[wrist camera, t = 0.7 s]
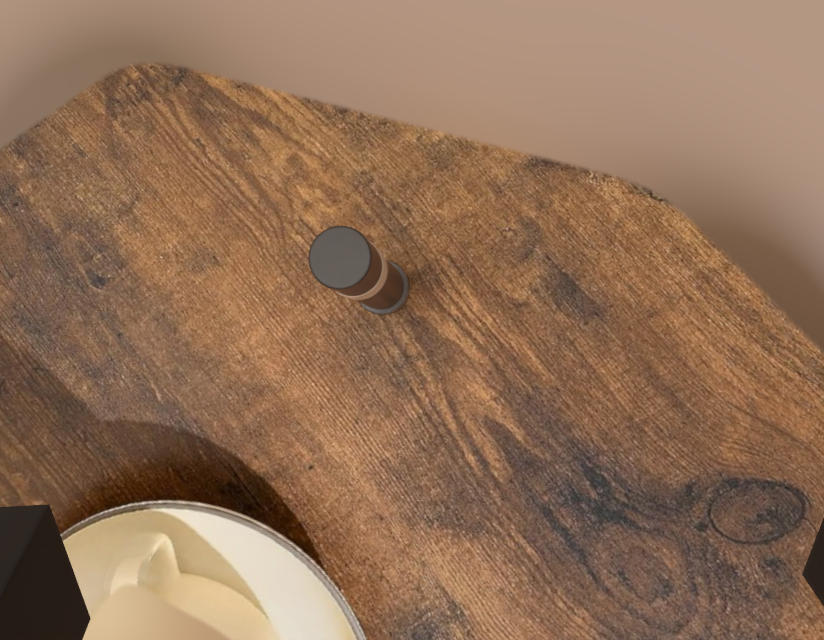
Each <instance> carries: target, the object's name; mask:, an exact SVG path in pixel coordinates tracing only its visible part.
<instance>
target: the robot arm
mask: <svg viewBox="0 0 824 640" xmlns="http://www.w3.org/2000/svg"><path fill="white" fill-rule="evenodd" d="M802 575H803V576H804V578H805V579H806V581H807V582H808V584H809V585H810V587H811V588H812V590H813V591H814V593H815V594H816V596H817V597H818V599H819V600H820V602H821V603H822V604H823V606H824V519H823V521H822V524H821V527H820V529H819V532H818V534H817V537H816V540H815V542H814V545H813V547H812V550H811V553H810V555H809V558H808V560H807V563H806V566H805V568H804V571H803V574H802ZM89 621H90V616H89V613H88V610H87V608H86V605H85V602H84V599H83V597H82V594H81V591H80V588H79V585H78V583H77V580H76V577H75V574H74V572H73V569H72V566H71V563H70V561H69V558H68V555H67V552H66V550H65V547H64V544H63V541H62V538H61V536H60V533H59V530H58V527H57V525H56V522H55V519H54V516H53V514H52V511H51V508H50V505H33V506H15V507H0V640H82V639H83V636H84V634H85V631H86V629H87V626H88V623H89Z"/></svg>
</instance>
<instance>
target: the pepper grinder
mask: <svg viewBox="0 0 824 640" xmlns="http://www.w3.org/2000/svg"><path fill="white" fill-rule="evenodd" d="M309 266H310V269H311V272H312V274H313V275H314V277H315V278H316V279H317V280H318V282H320V283H321V284H322V285H324V286H326V287H328V288H330V289H332V290H334V291H335V292H336V293H338V294H340V295H342V296H344V297H346V298H349V299H353V300H356V301H358V302H359V303H360V305H361V306H362V307H363V308H365V309H366V310H367V311H369V312H372V313H374V314H378V315H387V314H391V313H393V312H395V311H397V310H398V309H400V308H401V307H402V306H403V305H404V303H405V302H406V300H407V298H408V295H409V289H410V286H409V280H408V277H407V275H406V273H405V272H404V271H403V269H402V268H401V267H400V266H398V265H397V264H396V263H394V262H392V261H388V260H387V259H386V258H385V257H384V255H383V254H382V252H381V251H380V250H379V249H378V248H377V247H376V246H375V245H374V244H373V243H372V242H370V241H368V240H367V239H366V238H365V237H364V236H363V235H362V234H361V233H360V232H359V231H357V230H356V229H353V228H351V227H347V226H335V227H331V228H328V229H326V230H324V231H323V232H322V233H320V234H319V235H318V236H317V237H316V239H315V240H314V241H313V243H312V245H311V248H310V251H309Z"/></svg>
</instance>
